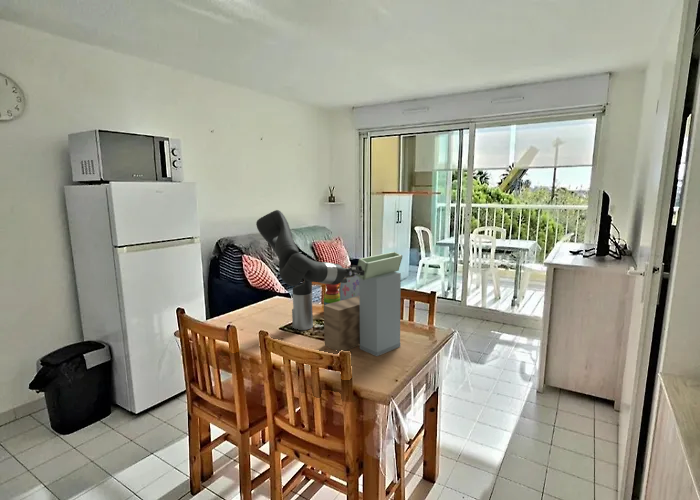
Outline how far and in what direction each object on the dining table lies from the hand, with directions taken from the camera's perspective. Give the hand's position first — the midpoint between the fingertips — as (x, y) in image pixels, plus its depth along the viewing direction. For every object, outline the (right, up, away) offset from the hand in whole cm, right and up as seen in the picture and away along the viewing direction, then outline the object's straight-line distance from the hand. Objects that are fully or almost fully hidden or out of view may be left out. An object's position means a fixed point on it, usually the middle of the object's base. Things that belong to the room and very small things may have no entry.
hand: (354, 276), depth 148 cm
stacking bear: (-11, -24, +62) cm, 67 cm away
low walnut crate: (-1, -30, +22) cm, 37 cm away
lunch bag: (+6, -26, +46) cm, 54 cm away
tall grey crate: (+11, -31, +15) cm, 36 cm away
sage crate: (+10, +1, +9) cm, 13 cm away
